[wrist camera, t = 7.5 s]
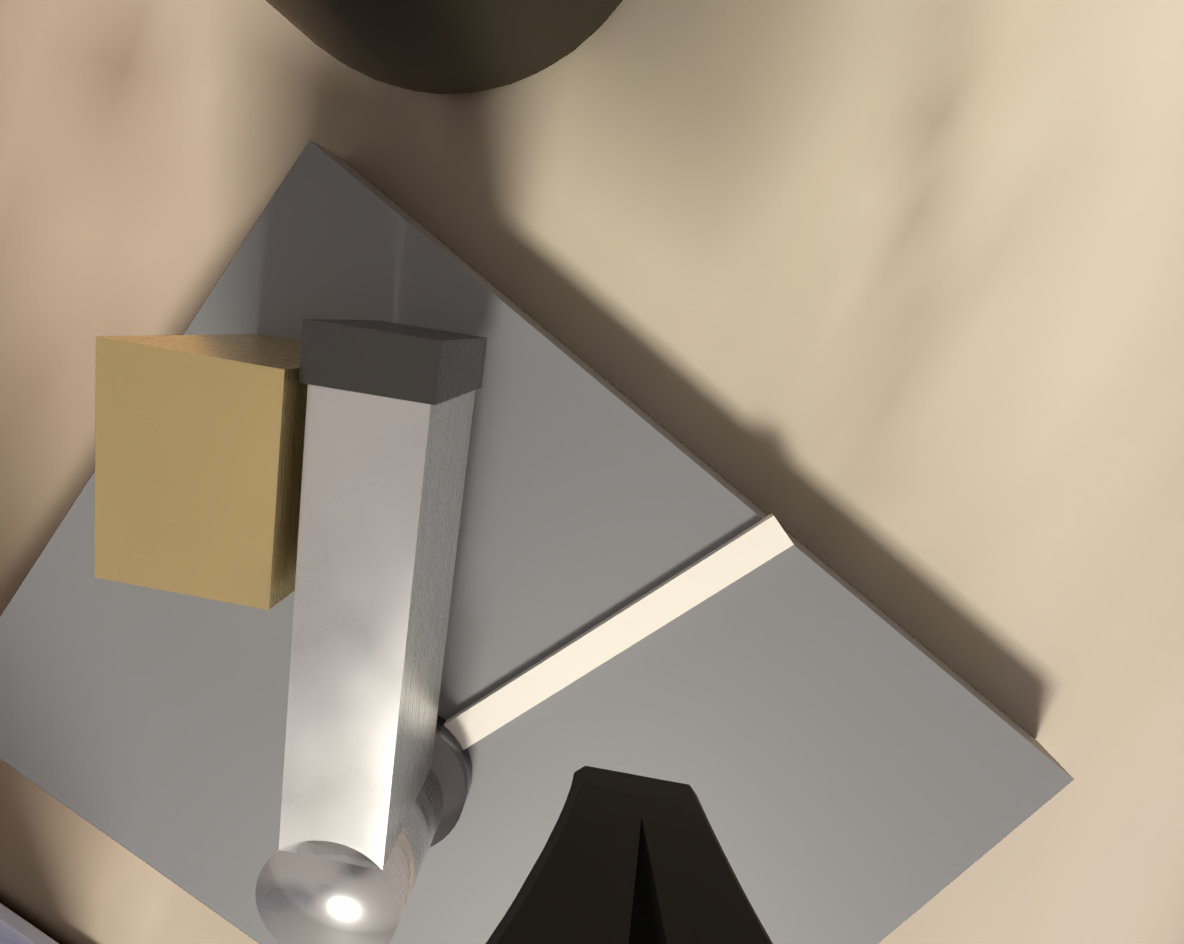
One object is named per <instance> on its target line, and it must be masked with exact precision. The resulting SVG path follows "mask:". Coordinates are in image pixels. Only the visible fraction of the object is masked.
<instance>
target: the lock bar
mask: <svg viewBox="0 0 1184 944" xmlns="http://www.w3.org/2000/svg"><path fill="white" fill-rule="evenodd" d="M486 347H487V338H486V337H480V336H474V335H467V334H461V333H455V332H449V331H442V330H436V329H430V328H424V327H417V326H411V325H405V324H399V323H392V322H386V321H380V320H341V319H302V335H301V351H300V368H299V383H303V384H308V388H307V404H306V420H305V436H304V452H303V468H302V484H301V500H300V516H299V532H298V548H297V564H296V580H295V596H294V612H293V628H292V643H291V659H290V675H289V691H288V707H287V723H286V739H285V755H284V771H283V787H282V803H281V819H280V835H279V845H278V846H277V848H276V849H275V850H274V852H273V853H272V855H271V856H270V858H269V859H268V860H267V862H266V863H265V865H264V866H263V868H262V869H261V871H260V874H259V876H258V879H257V883H256V890H255V896H256V904H257V909H258V912H259V915H260V917H261V919H262V921H263V923H264V925H265V926H266V928H267V929H268V931H269V932H270V933H271V934H272V936H273V937H274V938H275V939H276V940H277V941H278V942H279V943H280V944H388V943H389V942H390V941H391V939H392V937H393V935H394V934H395V931H396V929H397V926H398V924H399V921H400V919H401V916H402V914H403V911H404V909H405V907H406V904H407V902H408V899H409V897H410V894H411V892H412V889H413V887H414V884H415V882H416V879H417V877H418V874H419V872H420V869H421V867H422V865H423V862H424V860H425V857H426V855H427V852H428V850H429V847H430V845H431V842H432V840H433V837H434V835H435V832H436V830H437V827H438V825H439V823H440V820H441V817H442V814H443V809H444V797H443V791H442V787H441V785H440V782H439V780H438V778H437V777H436V775H435V773H434V772H433V771H432V769H431V765H432V756H433V748H434V739H435V731H436V722H437V714H438V705H439V696H440V688H441V679H442V671H443V662H444V654H445V645H446V637H447V628H448V619H449V611H450V602H451V594H452V585H453V577H454V568H455V560H456V551H457V542H458V534H459V525H460V517H461V508H462V500H463V491H464V482H465V474H466V465H467V457H468V448H469V440H470V431H471V423H472V414H473V405H474V397H475V390H476V389H479V388H482V380H483V372H484V363H485V355H486Z"/></svg>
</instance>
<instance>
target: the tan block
mask: <svg viewBox="0 0 1184 944" xmlns="http://www.w3.org/2000/svg"><path fill="white" fill-rule="evenodd" d="M300 351H301V341H296V340H290V339H284V338H278V337H273V336H267V335H261V334H213V335H155V336H97V337H96V410H95V578H100V579H105V580H110V581H116V582H121V583H126V584H132V585H137V586H142V587H148V588H153V589H158V590H164V591H169V592H174V593H180V594H185V595H190V596H196V597H201V598H206V599H212V600H217V601H222V602H228V603H233V604H238V605H244V606H249V607H254V608H260V609H265V610H270V609H271V608H272V607H274V606H275V605H276V604H278V603H279V602H280V601H281V600H283V599H284V598H285V597H287V596H288V595H289V594H291V593H292V592H293V591H295V580H296V564H297V548H298V532H299V516H300V500H301V484H302V468H303V452H304V436H305V420H306V404H307V388H308V384H303V383H299V368H300Z"/></svg>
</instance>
